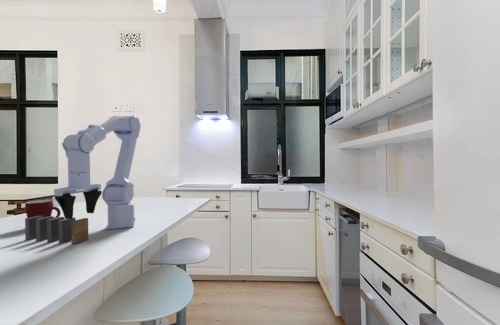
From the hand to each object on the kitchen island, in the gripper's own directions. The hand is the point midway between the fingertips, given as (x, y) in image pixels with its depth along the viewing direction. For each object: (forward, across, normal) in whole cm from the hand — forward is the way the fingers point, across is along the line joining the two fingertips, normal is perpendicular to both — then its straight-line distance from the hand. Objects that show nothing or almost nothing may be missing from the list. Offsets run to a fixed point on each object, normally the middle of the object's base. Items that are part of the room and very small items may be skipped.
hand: (80, 215), depth 78 cm
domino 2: (+8, 0, -14) cm, 16 cm away
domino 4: (+8, 0, -5) cm, 10 cm away
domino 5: (+8, 0, 0) cm, 8 cm away
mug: (+9, -12, -30) cm, 34 cm away
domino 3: (+8, 0, -10) cm, 13 cm away
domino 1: (+8, 0, -18) cm, 20 cm away
